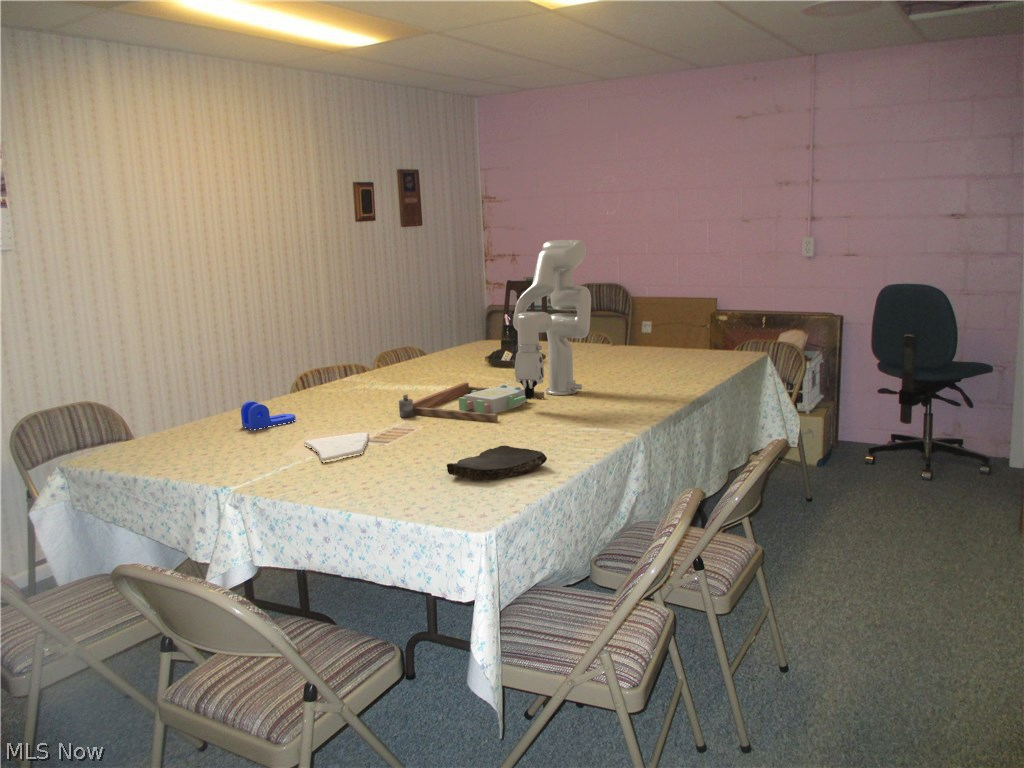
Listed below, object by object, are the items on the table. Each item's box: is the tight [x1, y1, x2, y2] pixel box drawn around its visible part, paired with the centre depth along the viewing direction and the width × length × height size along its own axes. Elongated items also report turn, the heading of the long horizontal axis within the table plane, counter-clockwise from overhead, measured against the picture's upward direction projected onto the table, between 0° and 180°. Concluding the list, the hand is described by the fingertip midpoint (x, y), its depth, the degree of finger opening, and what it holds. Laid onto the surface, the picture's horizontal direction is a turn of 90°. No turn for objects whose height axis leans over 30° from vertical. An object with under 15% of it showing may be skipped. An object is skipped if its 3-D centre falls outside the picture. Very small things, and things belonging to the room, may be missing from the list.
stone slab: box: [446, 445, 548, 481], centre depth 231 cm, size 26×7×20 cm
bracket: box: [240, 400, 297, 431], centre depth 295 cm, size 18×8×9 cm, turn 130°
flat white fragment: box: [304, 432, 370, 462], centre depth 260 cm, size 21×4×25 cm
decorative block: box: [458, 384, 528, 414], centre depth 309 cm, size 26×6×20 cm
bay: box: [398, 382, 545, 423], centre depth 309 cm, size 38×46×8 cm
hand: (529, 398), depth 300 cm, fingers closed
